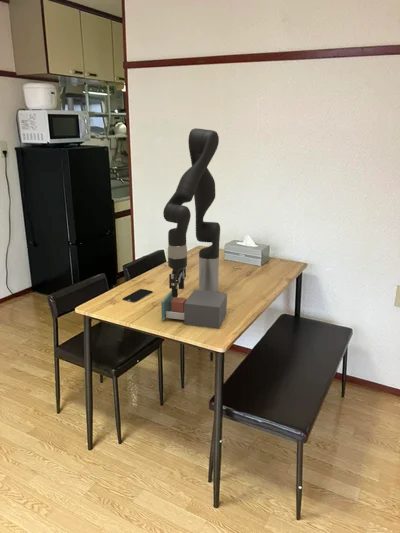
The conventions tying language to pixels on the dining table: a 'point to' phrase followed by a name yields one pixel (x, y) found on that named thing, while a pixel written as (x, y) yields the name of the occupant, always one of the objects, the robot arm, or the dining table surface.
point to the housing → (205, 309)
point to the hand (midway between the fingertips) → (178, 292)
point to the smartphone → (137, 295)
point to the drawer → (169, 308)
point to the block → (178, 304)
